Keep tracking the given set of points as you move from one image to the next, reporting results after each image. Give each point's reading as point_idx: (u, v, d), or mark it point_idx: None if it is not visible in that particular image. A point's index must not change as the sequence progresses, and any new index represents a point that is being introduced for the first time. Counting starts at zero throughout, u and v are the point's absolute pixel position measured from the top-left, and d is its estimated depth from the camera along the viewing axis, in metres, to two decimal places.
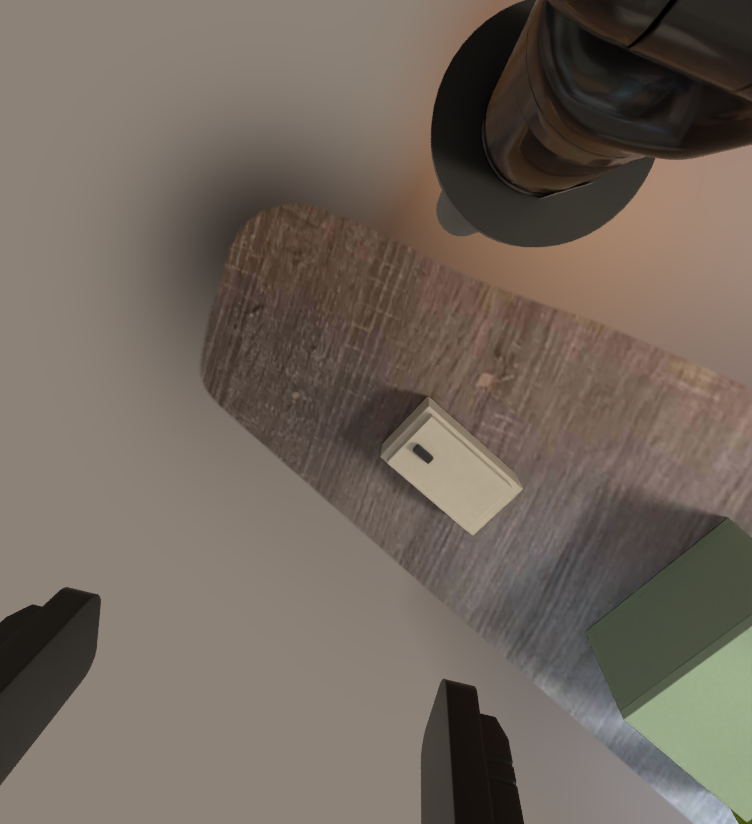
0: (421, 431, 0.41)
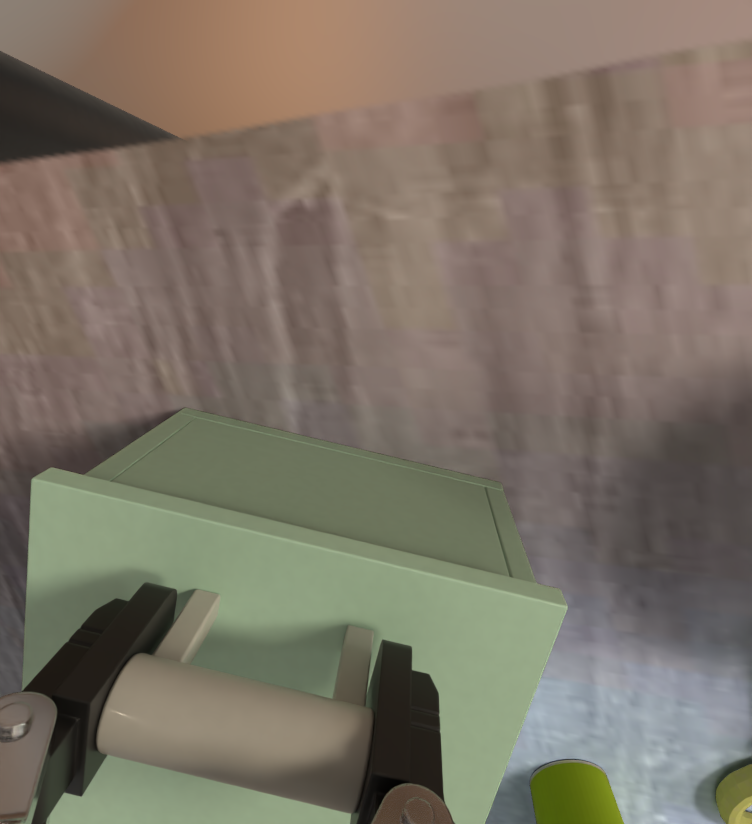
0: None
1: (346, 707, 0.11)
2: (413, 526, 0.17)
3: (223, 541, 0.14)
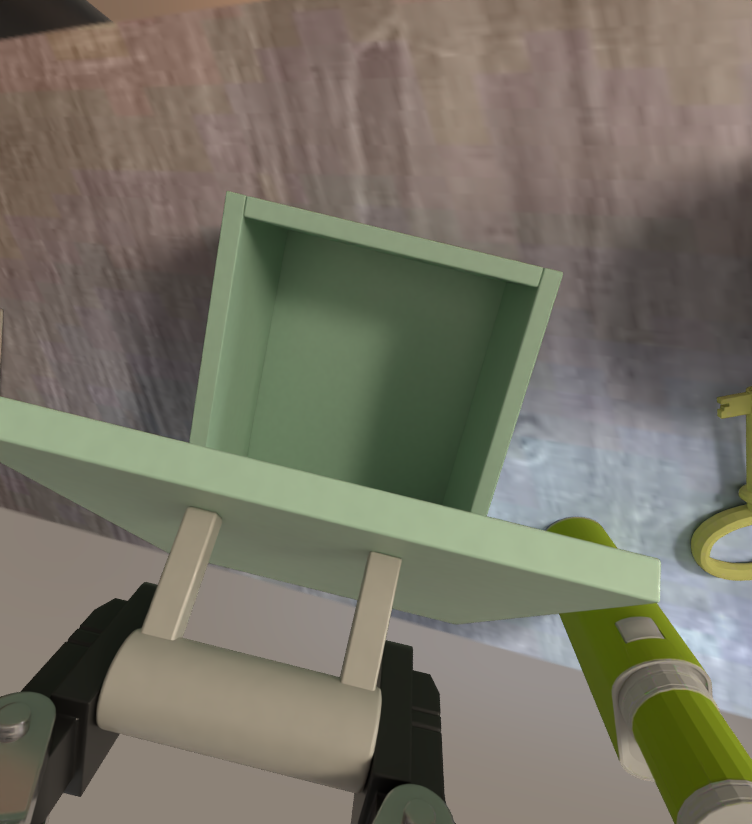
0: None
1: (347, 721, 0.10)
2: None
3: (195, 493, 0.10)
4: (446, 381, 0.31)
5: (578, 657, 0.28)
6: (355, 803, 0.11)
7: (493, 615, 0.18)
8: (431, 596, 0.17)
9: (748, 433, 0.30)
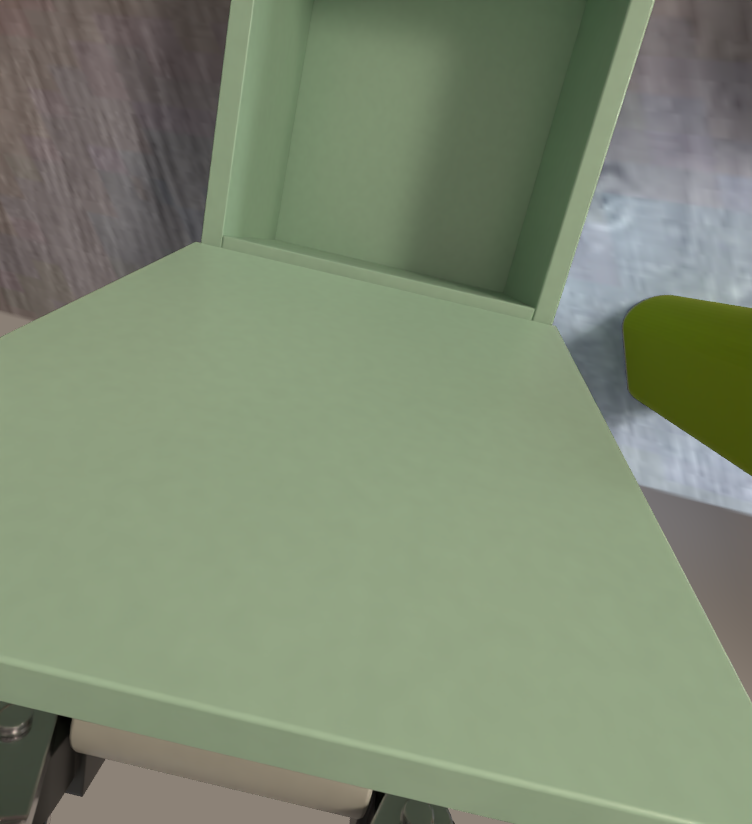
0: None
1: (334, 794, 0.09)
2: None
3: None
4: (516, 115, 0.26)
5: (685, 418, 0.23)
6: None
7: None
8: None
9: None
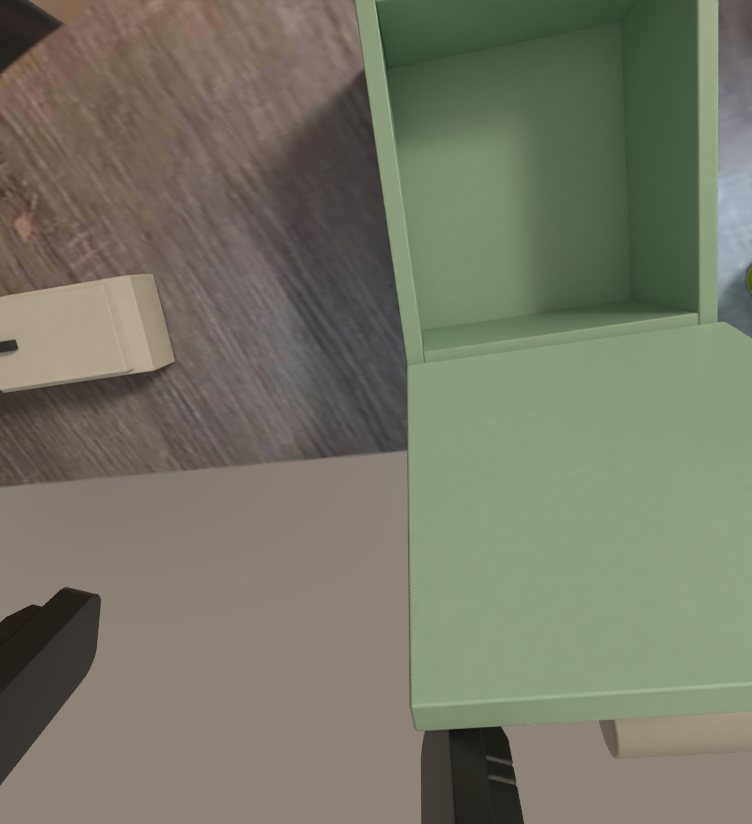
0: None
1: None
2: None
3: None
4: (592, 154, 0.30)
5: None
6: None
7: None
8: None
9: None
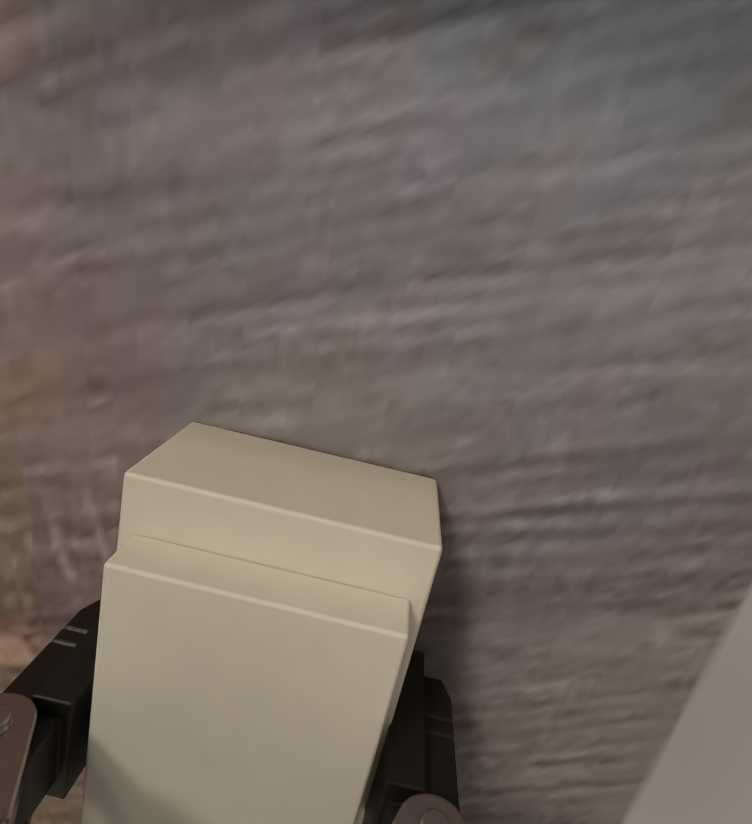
0: None
1: None
2: None
3: None
4: None
5: None
6: (367, 811, 0.11)
7: None
8: None
9: None
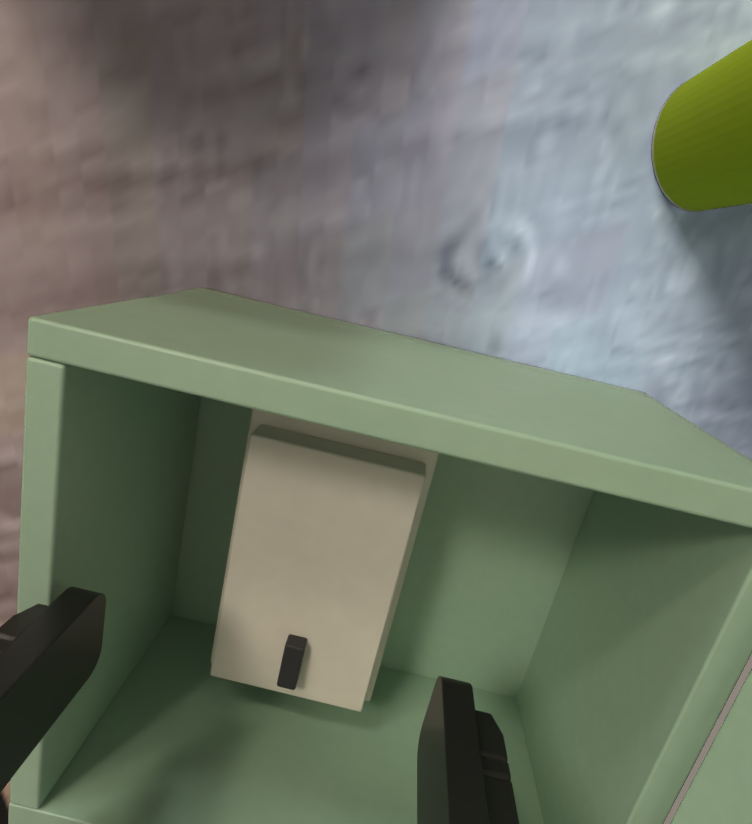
0: (251, 679, 0.17)
1: None
2: None
3: None
4: None
5: None
6: None
7: None
8: None
9: None
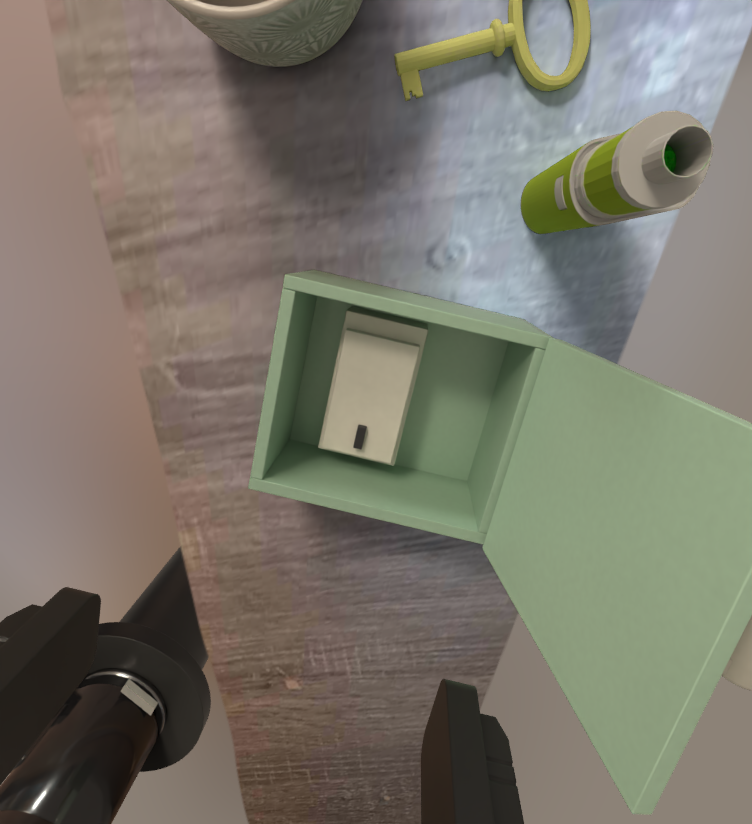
0: (340, 448, 0.38)
1: None
2: None
3: None
4: None
5: None
6: None
7: None
8: None
9: (437, 65, 0.34)
